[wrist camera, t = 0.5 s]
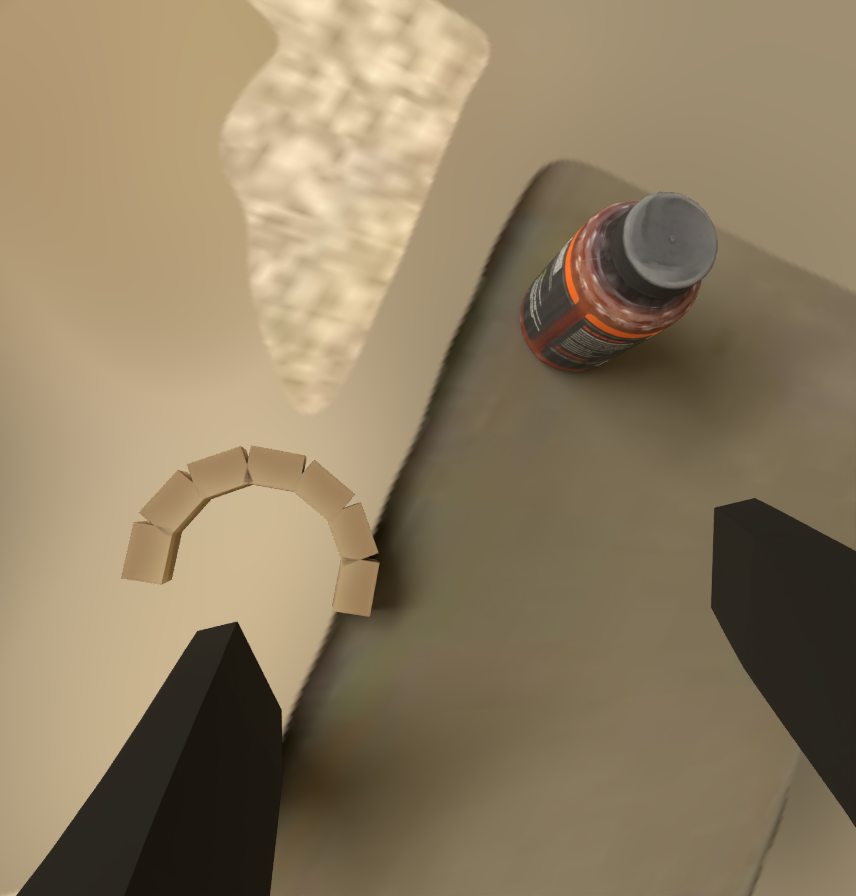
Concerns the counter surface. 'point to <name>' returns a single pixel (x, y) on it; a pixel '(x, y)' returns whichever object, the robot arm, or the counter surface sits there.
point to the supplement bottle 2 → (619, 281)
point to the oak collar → (235, 470)
